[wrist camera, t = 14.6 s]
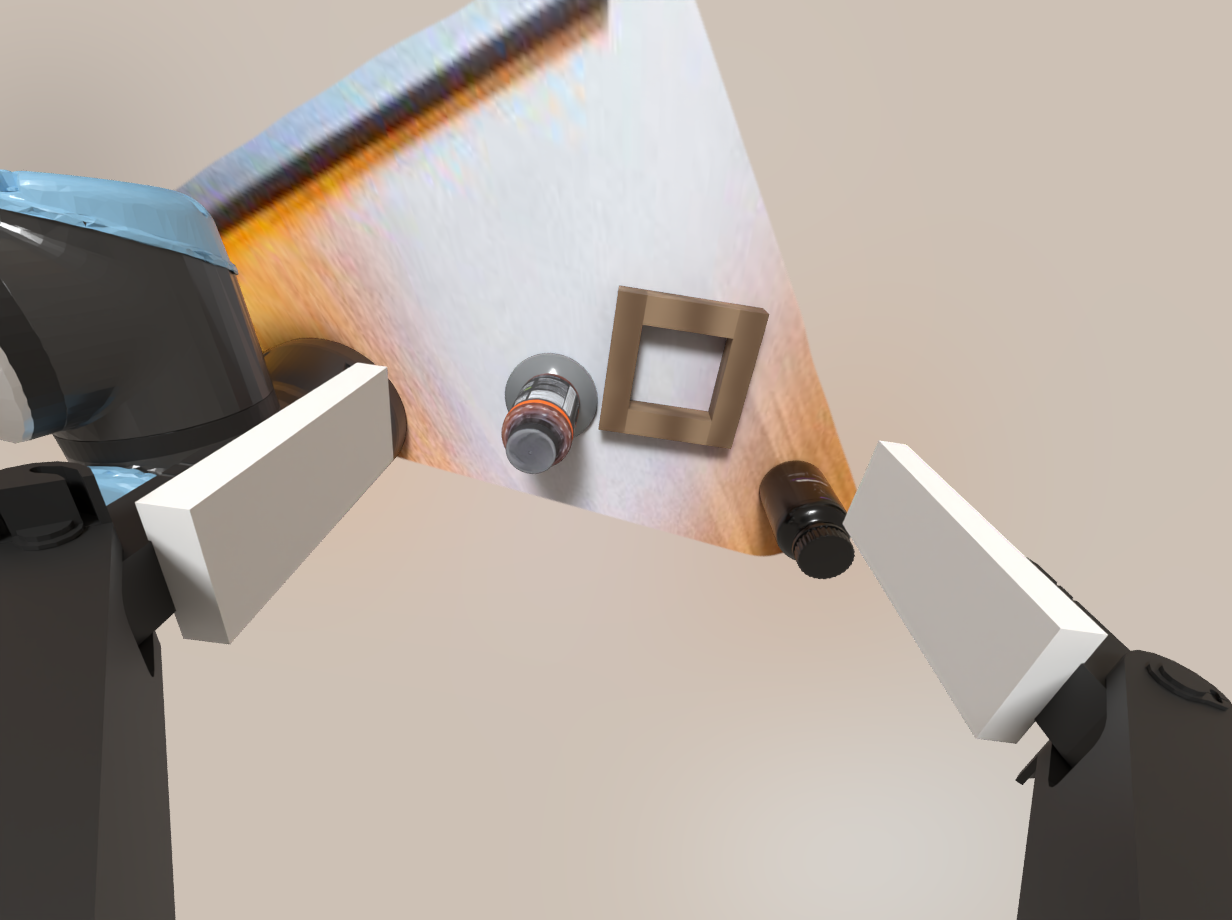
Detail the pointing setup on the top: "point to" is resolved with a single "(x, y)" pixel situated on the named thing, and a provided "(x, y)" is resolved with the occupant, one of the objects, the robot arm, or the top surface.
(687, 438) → the frame
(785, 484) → the supplement bottle
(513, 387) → the slate coaster
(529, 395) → the supplement bottle
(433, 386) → the top surface
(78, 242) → the robot arm
